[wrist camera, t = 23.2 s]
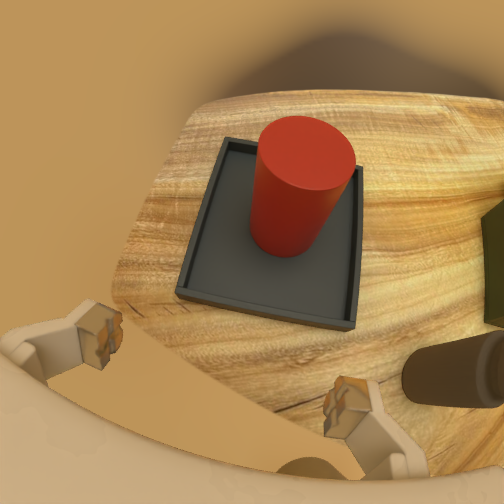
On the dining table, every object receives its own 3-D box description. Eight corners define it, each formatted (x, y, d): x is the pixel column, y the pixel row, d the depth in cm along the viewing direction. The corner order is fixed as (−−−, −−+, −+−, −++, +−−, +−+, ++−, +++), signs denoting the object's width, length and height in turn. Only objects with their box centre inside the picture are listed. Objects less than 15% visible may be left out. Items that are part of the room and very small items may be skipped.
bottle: (440, 340, 25) (554, 305, 11) (448, 391, 23) (563, 383, 9) (396, 356, 24) (518, 331, 10) (405, 412, 22) (525, 424, 8)
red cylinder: (312, 264, 27) (355, 201, 16) (243, 249, 27) (248, 176, 17) (319, 205, 29) (355, 128, 19) (256, 191, 29) (267, 107, 19)
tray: (346, 332, 25) (355, 328, 23) (178, 298, 25) (174, 292, 23) (356, 177, 31) (363, 166, 29) (225, 148, 32) (224, 136, 30)
